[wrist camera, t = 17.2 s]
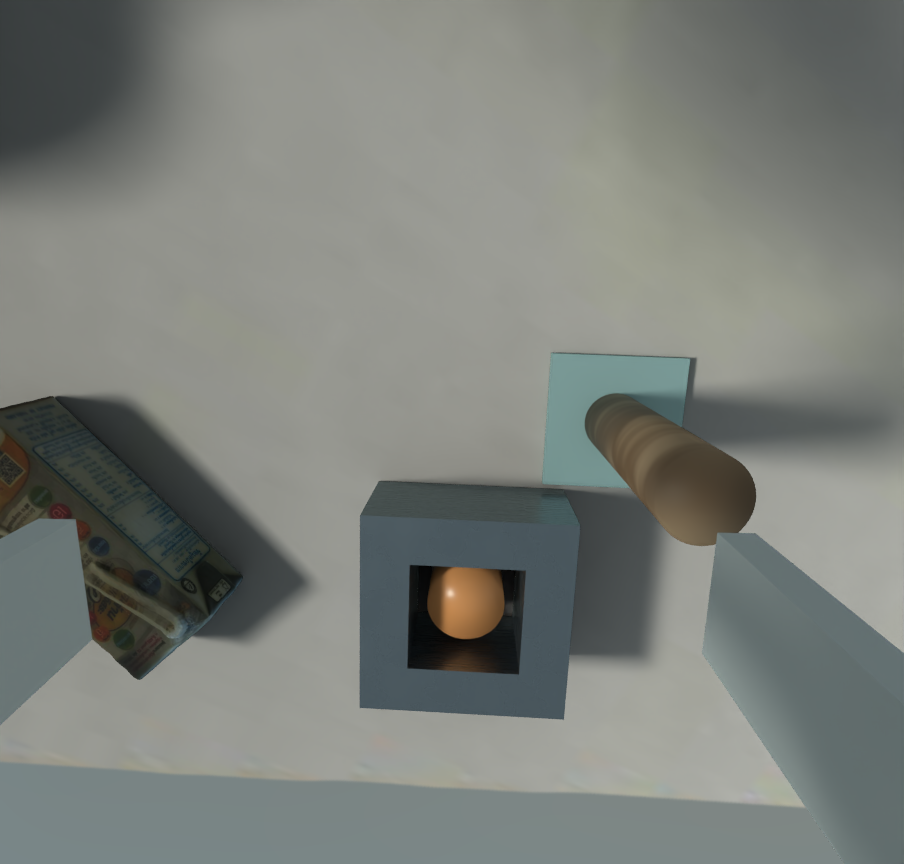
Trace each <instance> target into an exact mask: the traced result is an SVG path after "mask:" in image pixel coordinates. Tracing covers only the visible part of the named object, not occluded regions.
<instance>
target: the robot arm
mask: <svg viewBox="0 0 904 864" xmlns="http://www.w3.org/2000/svg"><path fill="white" fill-rule="evenodd" d="M91 640H92V634H91V627H90V620H89V612H88V605H87V598H86V591H85V584H84V576H83V569H82V562H81V555H80V548H79V541H78V533H77V526H76V519H37V520H35V521H33V522H31V523H29V524H27V525H26V526H24V527H22V528H20V529H18V530H16V531H14V532H12V533H10V534H9V535H7V536H5V537H3V538H1V539H0V725H1V724H2V723H3V722H4V721H5V720H6V719H7V718H8V717H9V716H10V715H12V714H13V713H14V712H15V711H16V710H17V709H18V708H19V707H20V706H21V705H22V704H23V703H24V702H25V701H27V700H28V699H29V698H30V697H31V696H32V695H33V694H34V693H35V692H36V691H37V690H38V689H39V688H40V687H42V686H43V685H44V684H45V683H46V682H47V681H48V680H49V679H50V678H51V677H52V676H53V675H54V674H55V673H57V672H58V671H59V670H60V669H61V668H62V667H63V666H64V665H65V664H66V663H67V662H68V661H69V660H71V659H72V658H73V657H74V656H75V655H76V654H77V653H78V652H79V651H80V650H81V649H82V648H83V647H84V646H86V645H87V644H88V643H89V642H90V641H91ZM702 654H703V655H704V657H705V658H706V660H707V661H708V663H709V664H710V666H711V667H712V669H713V670H714V672H715V673H716V675H717V676H718V678H719V679H720V680H721V682H722V683H723V685H724V686H725V688H726V689H727V691H728V692H729V694H730V695H731V697H732V698H733V700H734V701H735V703H736V704H737V706H738V707H739V709H740V710H741V712H742V713H743V715H744V716H745V718H746V719H747V721H748V722H749V724H750V725H751V726H752V728H753V729H754V731H755V732H756V734H757V735H758V737H759V738H760V740H761V741H762V743H763V744H764V746H765V747H766V749H767V750H768V752H769V753H770V755H771V756H772V758H773V759H774V761H775V762H776V764H777V765H778V767H779V768H780V769H781V771H782V772H783V774H784V775H785V777H786V778H787V780H788V781H789V783H790V784H791V786H792V787H793V789H794V790H795V792H796V793H797V795H798V796H799V798H800V799H801V801H802V802H803V804H804V805H805V807H806V808H807V810H808V811H809V812H810V814H811V815H812V817H813V818H814V820H815V821H816V823H817V824H818V826H819V827H820V829H821V830H822V831H823V833H824V835H825V836H826V838H827V839H828V841H829V842H830V844H831V845H832V847H833V848H834V850H835V851H836V852H837V854H838V856H839V857H840V859H841V860H842V861H843V863H844V864H904V653H903V652H902V651H900V650H899V649H898V648H897V647H895V646H894V645H893V644H892V643H890V642H889V641H888V640H887V639H885V638H884V637H883V636H882V635H880V634H879V633H878V632H877V631H876V630H874V629H873V628H872V627H871V626H869V625H868V624H867V623H866V622H864V621H863V620H862V619H861V618H859V617H858V616H857V615H856V614H855V613H853V612H852V611H851V610H850V609H848V608H847V607H846V606H845V605H843V604H842V603H841V602H840V601H838V600H837V599H836V598H835V597H833V596H832V595H831V594H830V593H829V592H827V591H826V590H825V589H824V588H822V587H821V586H820V585H819V584H817V583H816V582H815V581H814V580H812V579H811V578H810V577H809V576H807V575H806V574H805V573H804V572H803V571H801V570H800V569H799V568H798V567H796V566H795V565H794V564H793V563H791V562H790V561H789V560H788V559H786V558H785V557H784V556H783V555H782V554H780V553H779V552H778V551H777V550H775V549H774V548H773V547H772V546H770V545H769V544H768V543H767V542H765V541H764V540H763V539H762V538H760V537H759V536H758V535H757V534H756V533H717V540H716V548H715V556H714V564H713V571H712V579H711V587H710V595H709V603H708V611H707V618H706V626H705V634H704V642H703V650H702Z"/></svg>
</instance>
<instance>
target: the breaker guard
mask: <svg viewBox="0 0 904 864" xmlns="http://www.w3.org/2000/svg"><path fill="white" fill-rule="evenodd" d="M579 538H580V524H579V522H578V519H577V517H576V515H575V513H574V511H573V509H572V507H571V505H570V503H569V501H568V499H567V497H566V495H565V492H564V490H563V489H544V488H522V487H500V486H478V485H456V484H434V483H412V482H390V481H379V482H378V484H377V486H376V488H375V489H374V491H373V493H372V495H371V497H370V498H369V500H368V502H367V504H366V506H365V508H364V509H363V511H362V513H361V515H360V708H374V709H391V710H409V711H426V712H444V713H461V714H478V715H496V716H513V717H531V718H548V719H564V711H565V699H566V688H567V676H568V665H569V653H570V641H571V630H572V618H573V607H574V595H575V584H576V572H577V561H578V549H579ZM419 565H423V566H443V567H463V568H483V569H503V570H515V579H514V595H513V611H512V617H511V616H502V618H501V620H500V621H499V623H498V624H497V626H496V627H495V628H494V629H493V630H492V631H490V632H489V633H487V634H485V635H483V636H481V637H478V638H473V639H460V638H455V637H452V636H450V635H448V634H446V633H444V632H443V631H441V630H440V629H439V628H438V627H437V626H436V625H435V624H434V622H433V621H432V619H431V617H430V615H429V612H418V591H419Z"/></svg>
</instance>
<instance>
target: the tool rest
mask: <svg viewBox="0 0 904 864" xmlns="http://www.w3.org/2000/svg"><path fill="white" fill-rule="evenodd" d="M689 365H690V359H689V358H675V357H649V356H623V355H597V354H571V353H551V363H550V377H549V391H548V405H547V419H546V433H545V447H544V461H543V476H542V483H543V484H552V485H574V486H596V487H618V488H630V487H629V486H628V485H627V484H626V482H625V481H624V480H623V479H622V478H621V476H620V475H619V474H618V473H617V472H616V471H615V469H614V468H613V467H612V466H611V465H610V463H609V462H608V461H607V460H606V459H605V458H604V456H603V455H602V454H601V453H600V452H599V450H598V449H597V448H596V447H595V446H594V445H593V443H592V442H591V441H590V440H589V438H588V436H587V434H586V431H585V417H586V414H587V411H588V409H589V408H590V406H591V405H592V404H593V403H594V402H595V401H596V400H597V399H599V398H600V397H602V396H605V395H608V394H613V393H619V394H624V395H627V396H629V397H631V398H633V399H635V400H636V401H638V402H640V403H641V404H643V405H645V406H647V407H648V408H650V409H652V410H653V411H655V412H657V413H658V414H660V415H662V416H663V417H665V418H667V419H668V420H670V421H672V422H674V423H675V424H677V425H679V426H680V427H682V423H683V414H684V406H685V398H686V389H687V381H688V373H689Z"/></svg>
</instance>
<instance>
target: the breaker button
mask: <svg viewBox="0 0 904 864" xmlns="http://www.w3.org/2000/svg"><path fill="white" fill-rule="evenodd" d="M427 607H428V612H429V615H430V617H431V619H432V621H433V622H434V624H435V625H436V626H437V627H438V628H439V629H440V630H441V631H443V632H444V633H446V634H448V635H450V636H452V637H455V638H460V639H473V638H478V637H481V636H483V635H485V634H487V633H489V632H490V631H492V630H493V629H494V628H495V627H496V626H497V624H498V623H499V621H500V620H501V618H502V616H503V612H504V592H503V582H502V572H501V569H483V568H463V567H443V566H433V568H432V575H431V581H430V587H429V593H428V600H427Z"/></svg>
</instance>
